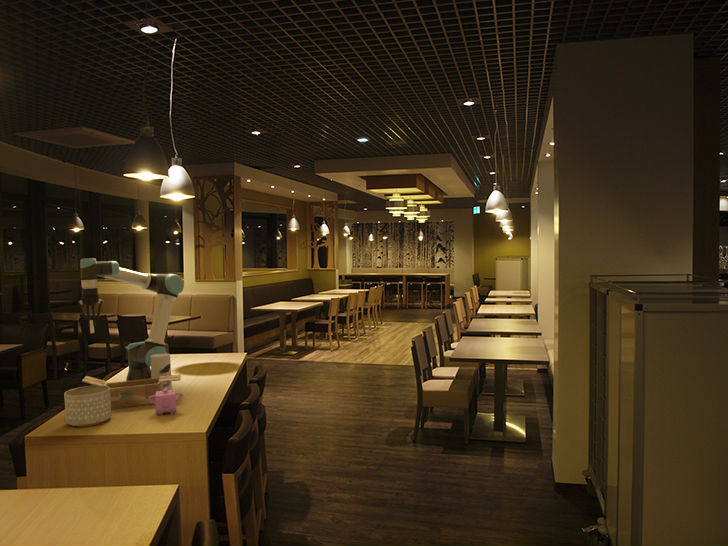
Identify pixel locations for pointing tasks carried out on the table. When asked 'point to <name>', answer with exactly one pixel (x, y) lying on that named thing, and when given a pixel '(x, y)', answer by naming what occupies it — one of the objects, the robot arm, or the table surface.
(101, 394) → the planter
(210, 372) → the table surface
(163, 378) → the flap
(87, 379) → the flap
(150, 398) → the teapot
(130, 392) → the carton
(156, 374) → the container
